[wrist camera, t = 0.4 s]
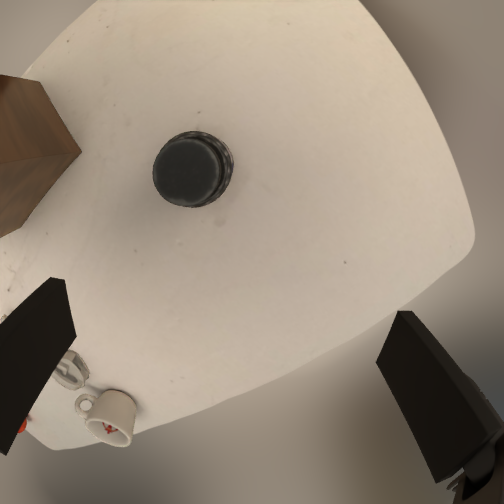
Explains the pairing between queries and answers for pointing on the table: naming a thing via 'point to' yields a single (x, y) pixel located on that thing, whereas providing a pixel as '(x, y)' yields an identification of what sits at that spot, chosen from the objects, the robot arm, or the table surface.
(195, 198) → the pill bottle
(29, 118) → the stand
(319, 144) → the table surface
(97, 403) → the cup
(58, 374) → the zipper pull
